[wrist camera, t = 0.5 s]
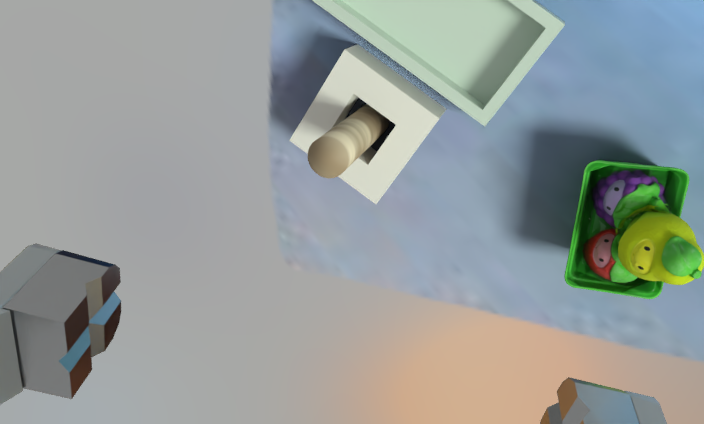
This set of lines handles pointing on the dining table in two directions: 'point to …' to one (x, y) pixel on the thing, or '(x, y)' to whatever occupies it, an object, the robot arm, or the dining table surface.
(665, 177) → the fruit basket
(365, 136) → the dowel
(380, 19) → the tray
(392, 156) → the socket block
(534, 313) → the dining table surface
